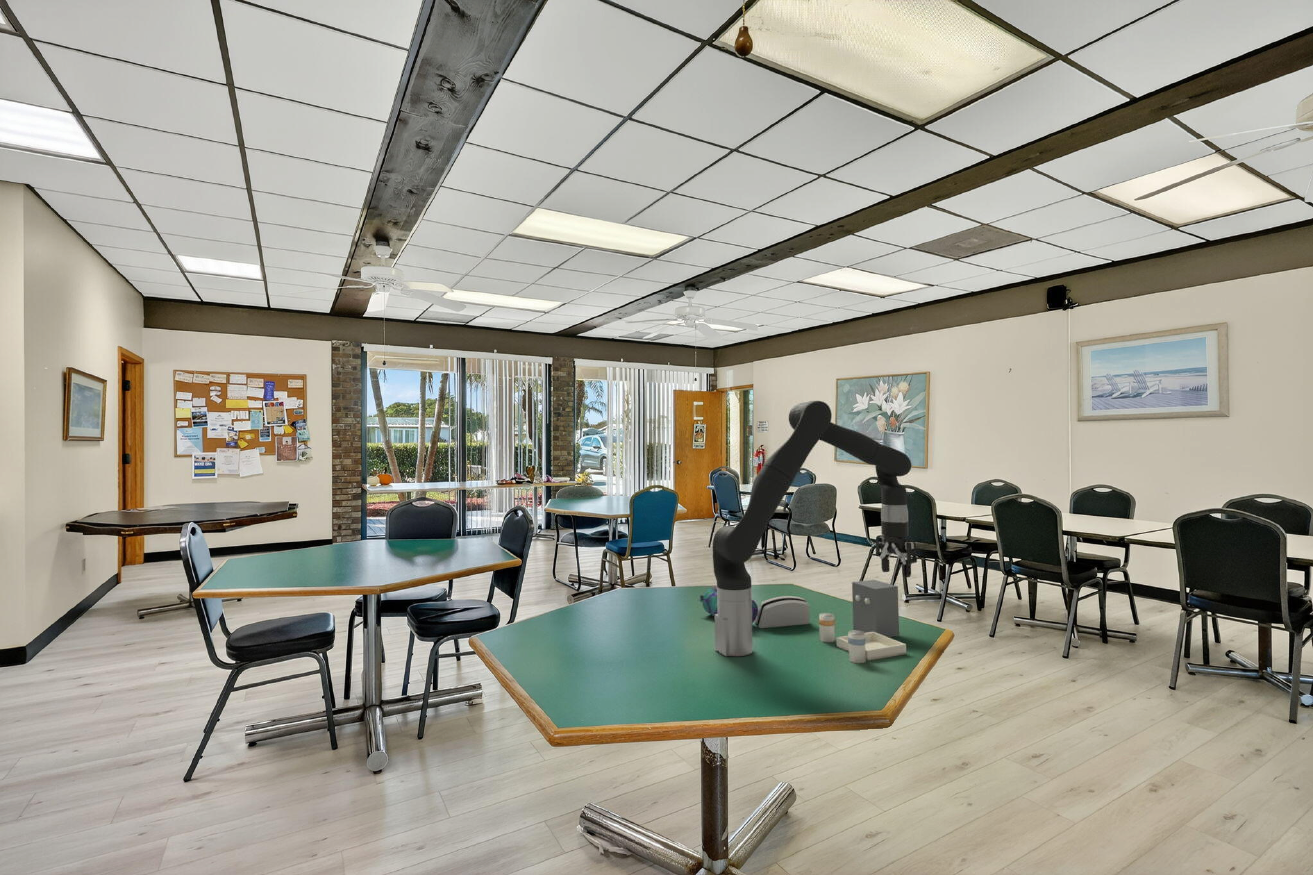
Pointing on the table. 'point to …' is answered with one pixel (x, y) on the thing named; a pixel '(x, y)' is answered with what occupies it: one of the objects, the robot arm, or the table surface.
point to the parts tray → (876, 646)
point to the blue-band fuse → (857, 646)
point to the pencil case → (711, 603)
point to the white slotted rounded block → (783, 612)
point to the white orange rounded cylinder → (827, 627)
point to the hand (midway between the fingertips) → (896, 574)
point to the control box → (875, 607)
